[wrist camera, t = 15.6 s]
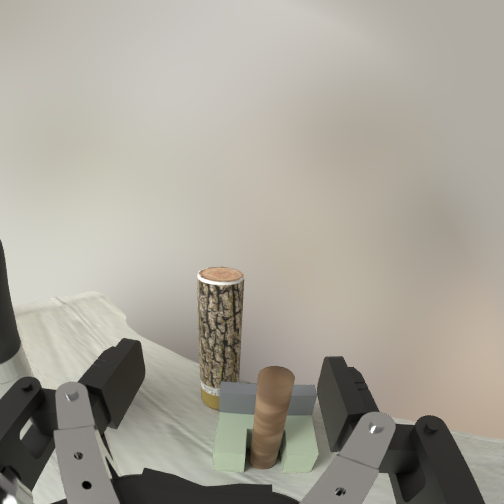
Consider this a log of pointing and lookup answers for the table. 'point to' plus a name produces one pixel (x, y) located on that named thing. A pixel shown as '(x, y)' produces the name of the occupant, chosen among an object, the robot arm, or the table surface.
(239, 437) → the cradle
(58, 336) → the table surface
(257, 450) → the brown banded cylinder
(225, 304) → the brown bark cylinder
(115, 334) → the table surface
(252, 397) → the wall
